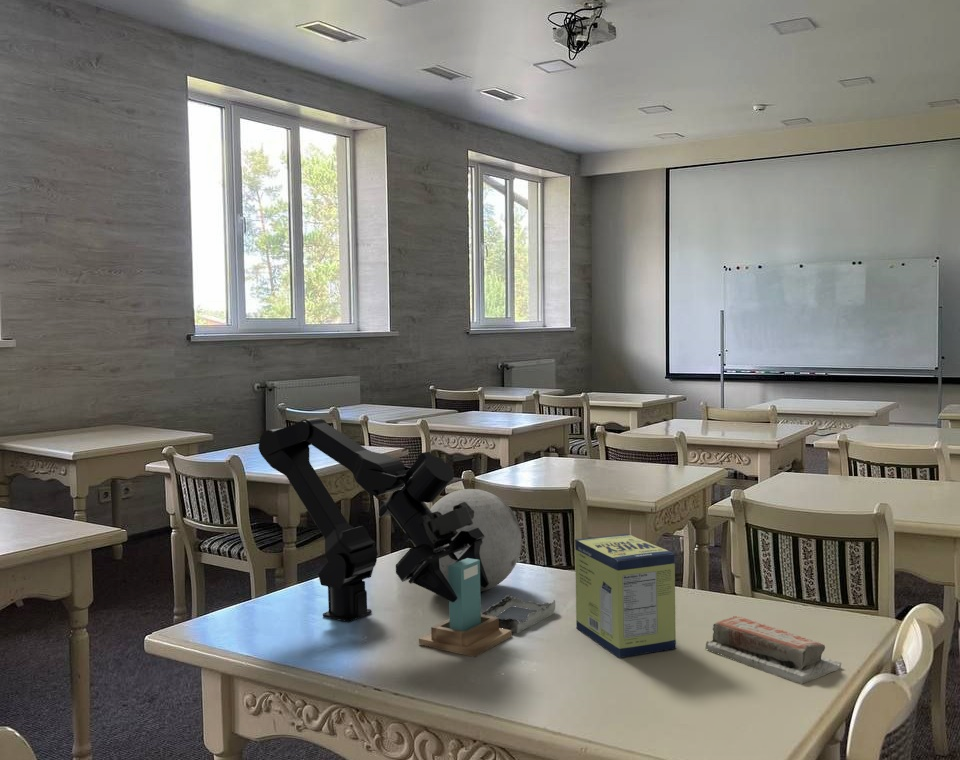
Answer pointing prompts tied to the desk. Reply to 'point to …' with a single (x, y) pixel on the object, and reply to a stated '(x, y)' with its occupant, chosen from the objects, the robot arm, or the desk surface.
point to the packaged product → (770, 649)
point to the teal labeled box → (465, 594)
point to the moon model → (487, 532)
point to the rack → (466, 637)
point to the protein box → (625, 594)
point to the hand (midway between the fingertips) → (471, 593)
